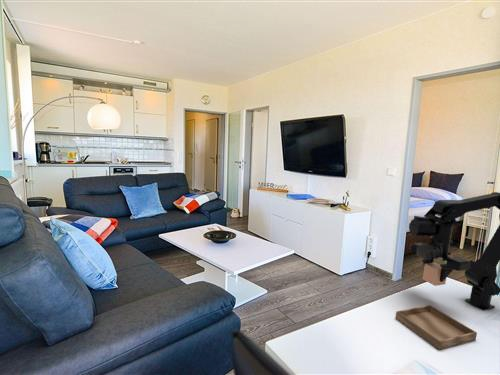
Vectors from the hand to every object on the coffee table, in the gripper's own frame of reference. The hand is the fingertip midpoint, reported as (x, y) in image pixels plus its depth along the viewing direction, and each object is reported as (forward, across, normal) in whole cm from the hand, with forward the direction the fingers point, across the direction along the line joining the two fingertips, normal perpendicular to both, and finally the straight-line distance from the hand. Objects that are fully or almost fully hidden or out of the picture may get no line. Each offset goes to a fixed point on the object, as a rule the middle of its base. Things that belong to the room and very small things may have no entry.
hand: (434, 278), depth 103 cm
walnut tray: (+9, +12, -14) cm, 21 cm away
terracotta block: (+1, 0, 0) cm, 1 cm away
